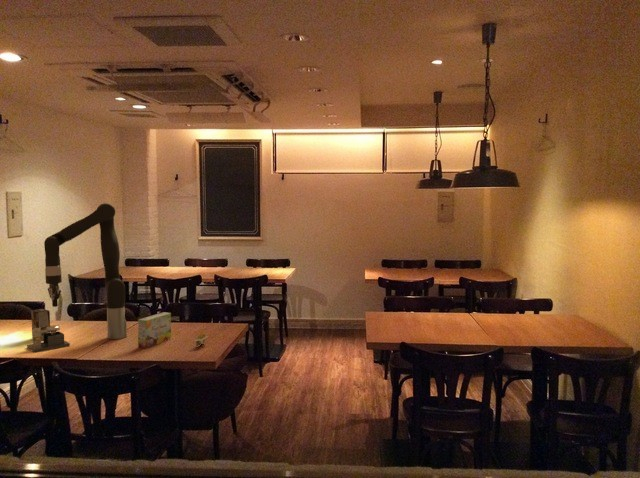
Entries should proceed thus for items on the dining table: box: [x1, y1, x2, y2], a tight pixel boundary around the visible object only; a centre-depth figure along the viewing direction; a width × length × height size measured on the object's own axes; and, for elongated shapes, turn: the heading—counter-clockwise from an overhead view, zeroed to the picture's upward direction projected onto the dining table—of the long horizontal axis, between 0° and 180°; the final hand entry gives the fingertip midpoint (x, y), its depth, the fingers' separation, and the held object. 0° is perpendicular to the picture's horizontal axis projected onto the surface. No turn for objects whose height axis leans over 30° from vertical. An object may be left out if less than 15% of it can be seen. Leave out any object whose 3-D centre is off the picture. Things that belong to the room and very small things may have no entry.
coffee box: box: [30, 308, 51, 342], centre depth 285 cm, size 9×6×16 cm
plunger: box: [35, 325, 60, 335], centre depth 269 cm, size 12×6×4 cm, turn 135°
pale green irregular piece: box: [193, 332, 208, 347], centre depth 273 cm, size 12×18×7 cm, turn 167°
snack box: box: [137, 311, 172, 349], centre depth 278 cm, size 21×6×15 cm, turn 160°
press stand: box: [26, 328, 71, 353], centre depth 270 cm, size 17×12×10 cm
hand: (55, 306), depth 274 cm, fingers closed
